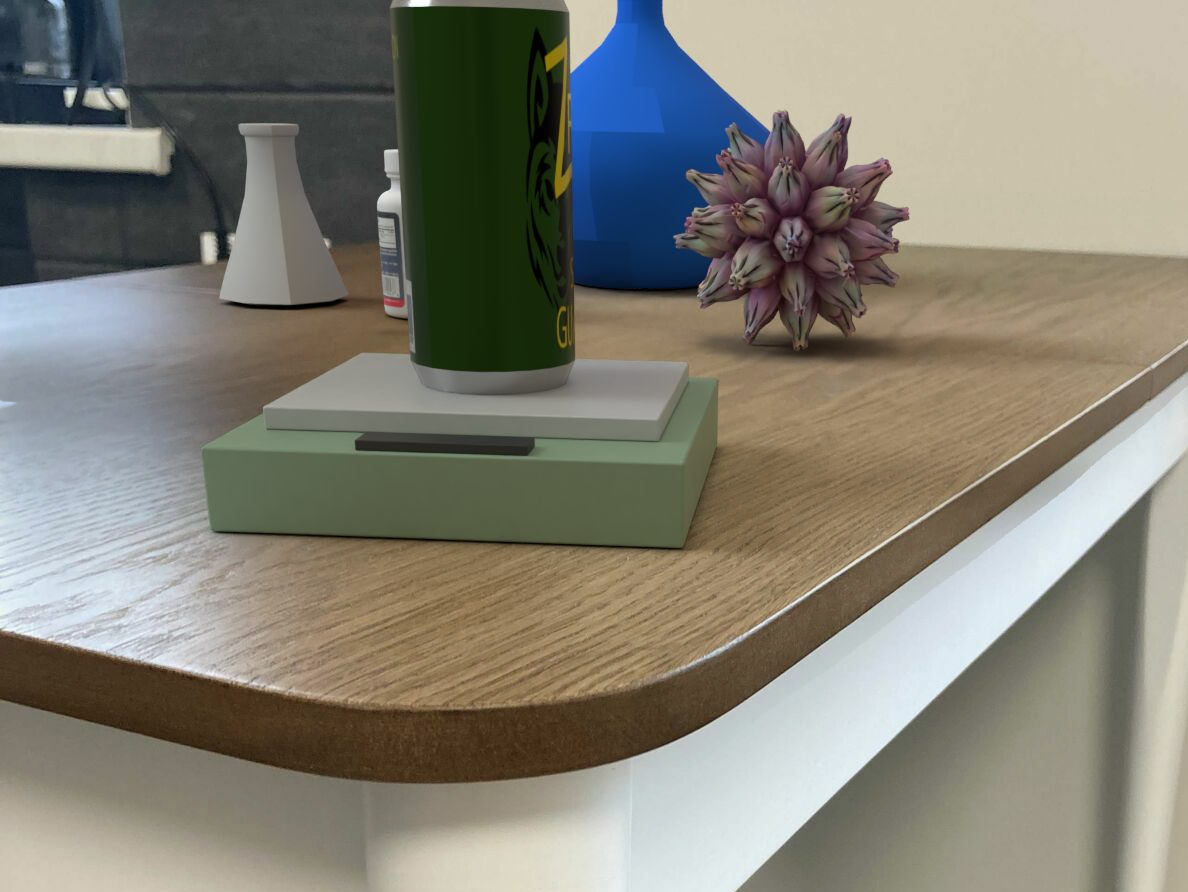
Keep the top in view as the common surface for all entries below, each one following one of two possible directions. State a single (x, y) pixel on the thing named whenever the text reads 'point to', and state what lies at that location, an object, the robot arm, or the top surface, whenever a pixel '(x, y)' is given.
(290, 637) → the top surface
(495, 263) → the beer can
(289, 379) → the top surface
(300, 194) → the flask
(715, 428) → the scale
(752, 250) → the flower
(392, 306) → the pill bottle
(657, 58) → the vase
